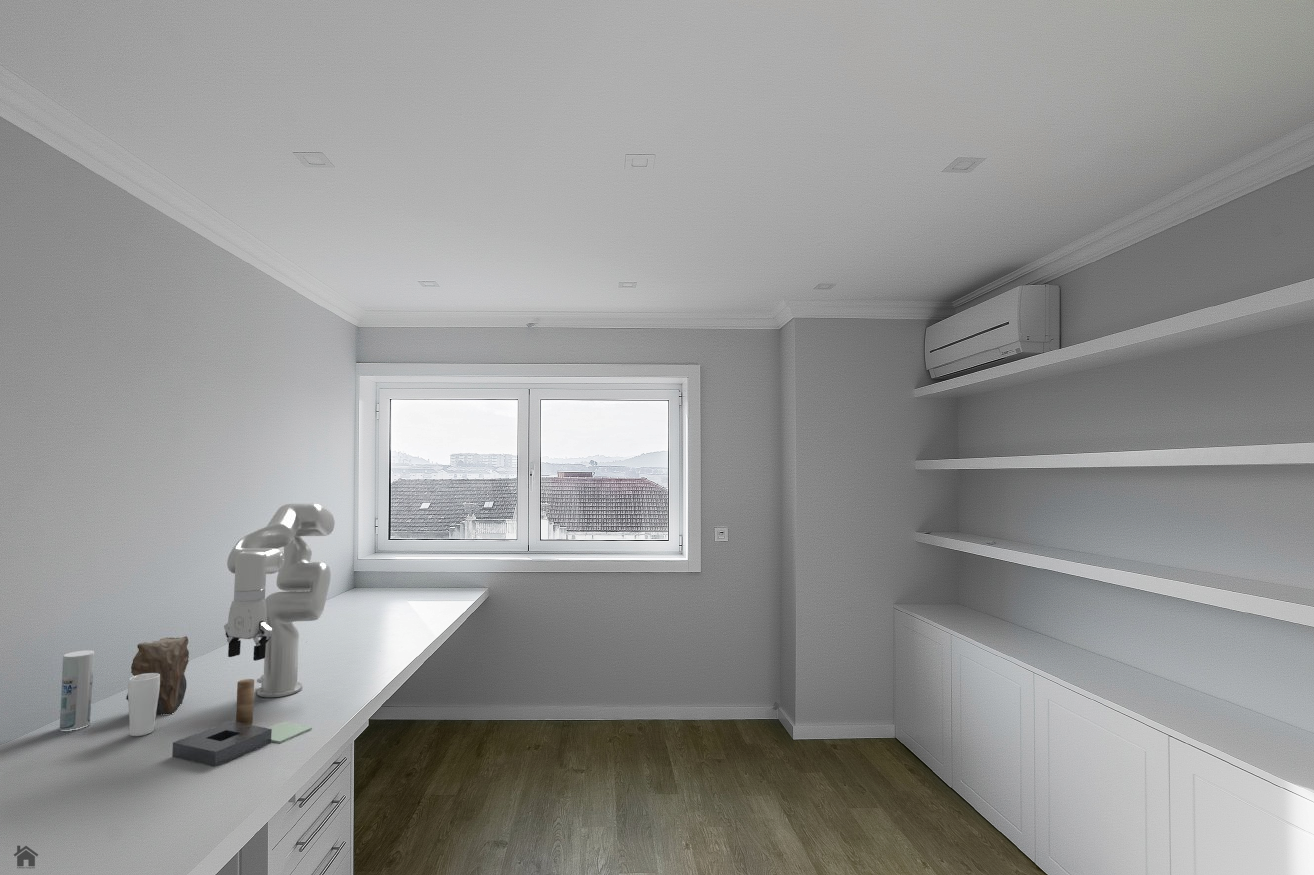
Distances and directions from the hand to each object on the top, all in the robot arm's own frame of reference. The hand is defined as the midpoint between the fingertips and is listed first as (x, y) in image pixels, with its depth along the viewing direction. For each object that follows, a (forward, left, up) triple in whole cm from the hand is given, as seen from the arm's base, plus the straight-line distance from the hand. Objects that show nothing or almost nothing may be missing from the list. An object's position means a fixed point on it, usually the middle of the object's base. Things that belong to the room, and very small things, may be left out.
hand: (246, 657), depth 183 cm
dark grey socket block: (+10, -13, -19) cm, 25 cm away
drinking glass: (-20, -14, -19) cm, 31 cm away
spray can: (-41, -18, -19) cm, 49 cm away
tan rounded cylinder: (0, 0, -19) cm, 19 cm away
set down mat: (+14, 0, -19) cm, 23 cm away
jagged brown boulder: (-33, -1, -19) cm, 38 cm away
